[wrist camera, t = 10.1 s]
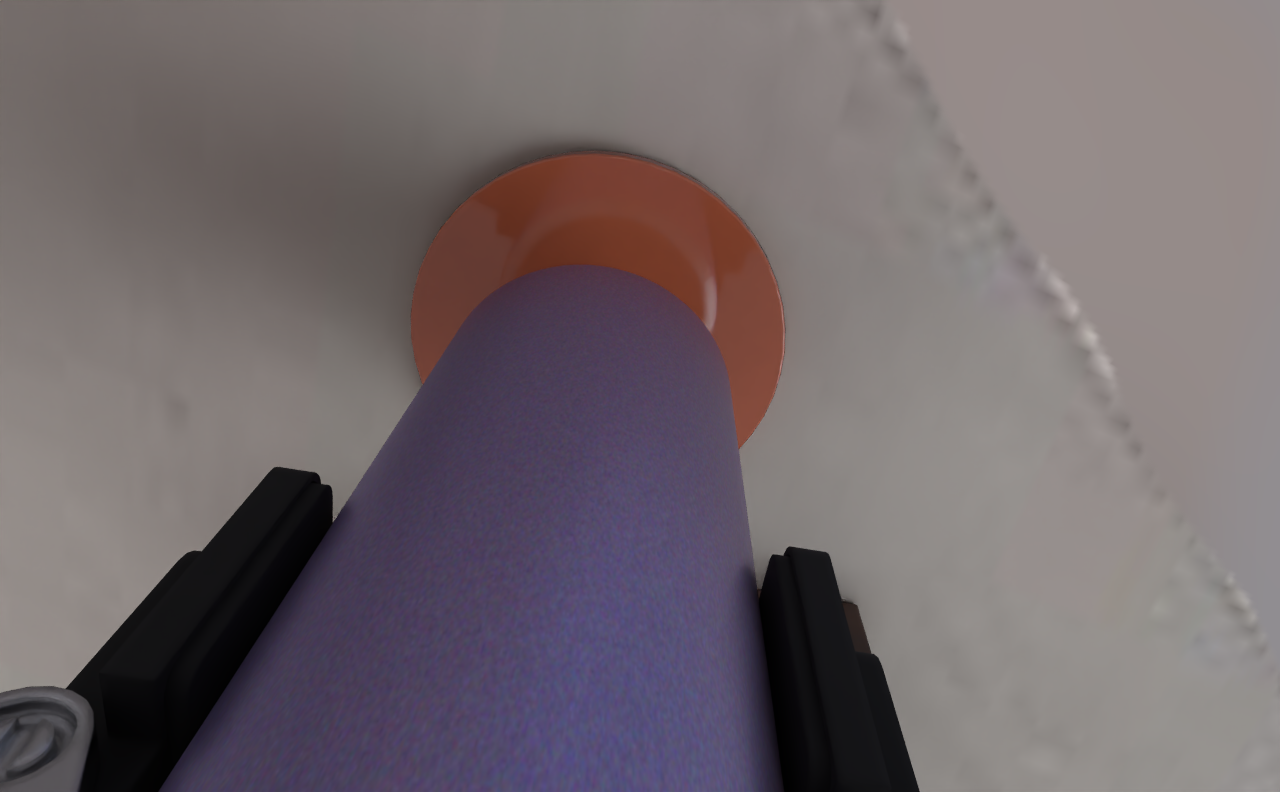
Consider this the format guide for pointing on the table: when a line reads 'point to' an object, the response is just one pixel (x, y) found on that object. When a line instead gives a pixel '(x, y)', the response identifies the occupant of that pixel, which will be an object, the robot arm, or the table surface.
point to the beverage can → (525, 577)
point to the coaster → (610, 257)
